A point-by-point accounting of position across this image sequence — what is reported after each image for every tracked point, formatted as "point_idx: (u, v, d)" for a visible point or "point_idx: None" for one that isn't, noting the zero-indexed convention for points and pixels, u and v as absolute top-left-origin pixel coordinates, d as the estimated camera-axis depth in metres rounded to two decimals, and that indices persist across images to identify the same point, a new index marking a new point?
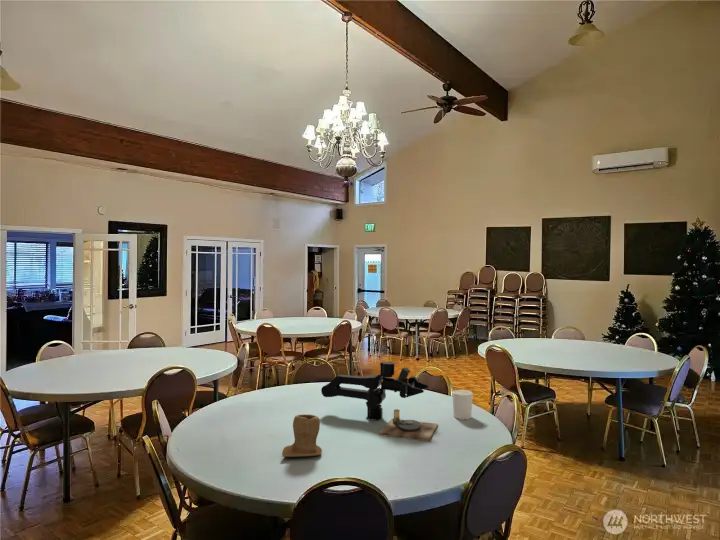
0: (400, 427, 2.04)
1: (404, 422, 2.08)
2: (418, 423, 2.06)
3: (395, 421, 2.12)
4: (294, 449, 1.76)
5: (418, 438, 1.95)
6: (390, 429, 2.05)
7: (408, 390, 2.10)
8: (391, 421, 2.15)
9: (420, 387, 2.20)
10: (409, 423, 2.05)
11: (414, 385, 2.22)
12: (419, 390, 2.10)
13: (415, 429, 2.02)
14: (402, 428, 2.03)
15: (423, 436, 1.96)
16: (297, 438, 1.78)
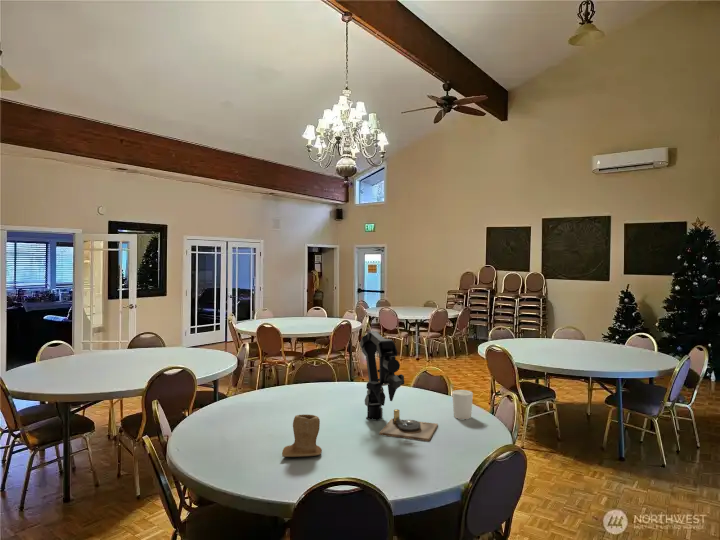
0: (400, 427, 2.04)
1: (404, 422, 2.08)
2: (418, 423, 2.06)
3: (395, 421, 2.12)
4: (294, 449, 1.76)
5: (418, 438, 1.95)
6: (390, 429, 2.05)
7: None
8: (391, 421, 2.15)
9: (389, 392, 2.11)
10: (409, 423, 2.05)
11: (391, 385, 2.11)
12: (379, 400, 2.05)
13: (415, 429, 2.02)
14: (402, 428, 2.03)
15: (423, 436, 1.96)
16: (297, 438, 1.78)
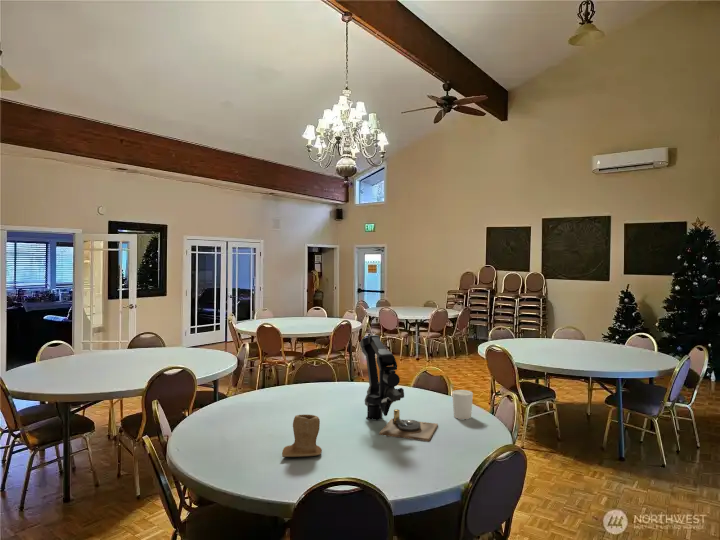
0: (400, 427, 2.04)
1: (404, 422, 2.08)
2: (418, 423, 2.06)
3: (395, 421, 2.12)
4: (294, 449, 1.76)
5: (418, 438, 1.95)
6: (390, 429, 2.05)
7: None
8: (391, 421, 2.15)
9: None
10: (409, 423, 2.05)
11: None
12: (384, 412, 2.07)
13: (415, 429, 2.02)
14: (402, 428, 2.03)
15: (423, 436, 1.96)
16: (297, 438, 1.78)
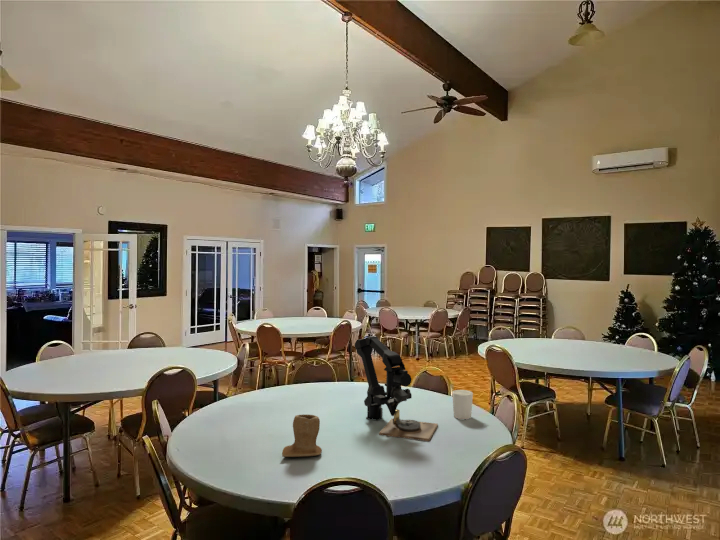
0: (400, 427, 2.04)
1: (404, 422, 2.08)
2: (418, 423, 2.06)
3: (395, 421, 2.12)
4: (294, 449, 1.76)
5: (418, 438, 1.95)
6: (390, 429, 2.05)
7: None
8: (391, 421, 2.15)
9: None
10: (409, 423, 2.05)
11: None
12: (391, 412, 2.10)
13: (415, 429, 2.02)
14: (402, 428, 2.03)
15: (423, 436, 1.96)
16: (297, 438, 1.78)
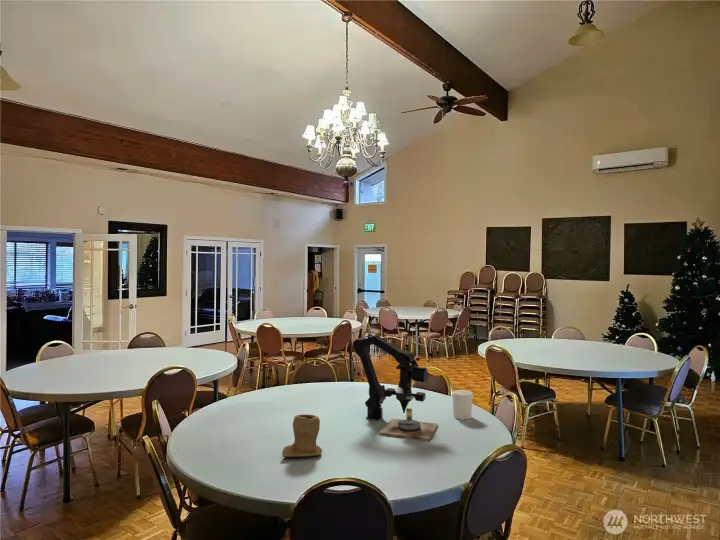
0: (398, 424, 2.08)
1: None
2: (416, 425, 2.03)
3: (406, 419, 2.14)
4: (294, 449, 1.76)
5: (418, 438, 1.95)
6: (390, 429, 2.05)
7: None
8: (391, 421, 2.15)
9: None
10: (406, 423, 2.06)
11: None
12: None
13: (406, 429, 2.02)
14: (398, 425, 2.06)
15: (423, 436, 1.96)
16: (297, 438, 1.78)
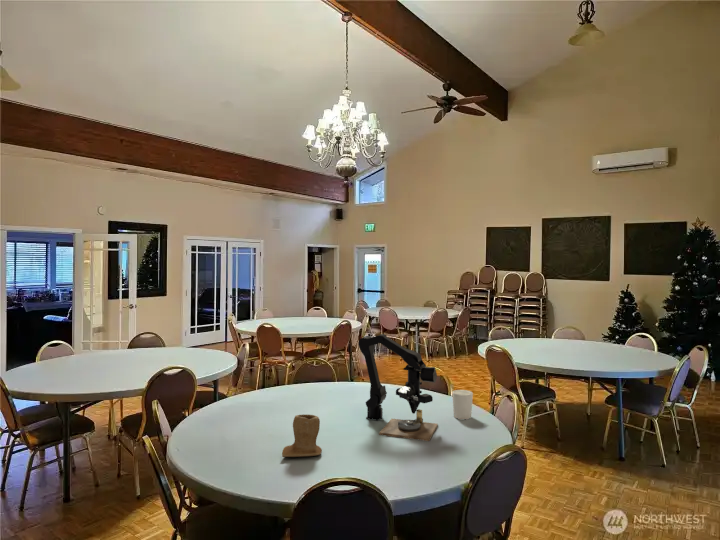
0: None
1: None
2: (411, 426, 2.02)
3: None
4: (294, 449, 1.76)
5: (418, 438, 1.95)
6: (390, 429, 2.05)
7: None
8: (391, 421, 2.15)
9: None
10: (405, 422, 2.06)
11: None
12: None
13: (400, 428, 2.04)
14: None
15: (423, 436, 1.96)
16: (297, 438, 1.78)
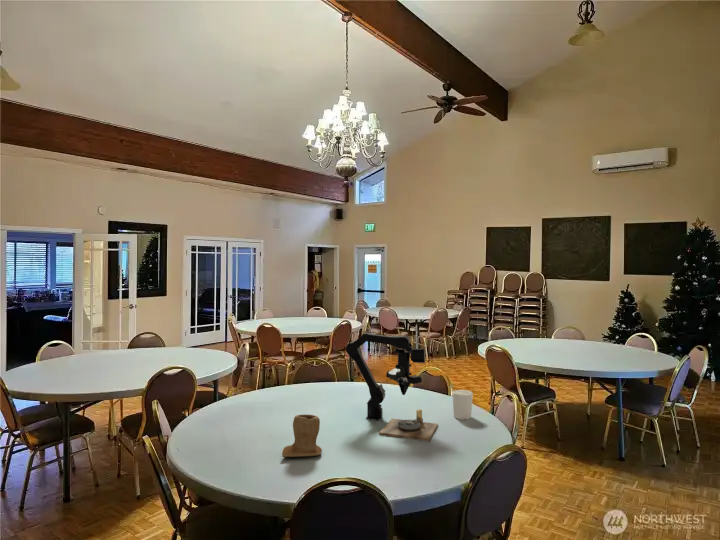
0: None
1: None
2: (411, 426, 2.02)
3: None
4: (294, 449, 1.76)
5: (418, 438, 1.95)
6: (390, 429, 2.05)
7: None
8: (391, 421, 2.15)
9: None
10: (405, 422, 2.06)
11: None
12: None
13: (400, 428, 2.04)
14: None
15: (423, 436, 1.96)
16: (297, 438, 1.78)
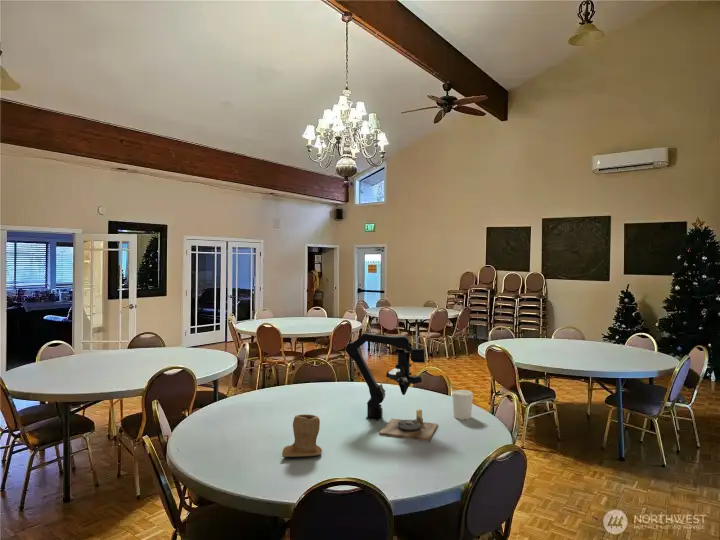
0: None
1: None
2: (411, 426, 2.02)
3: None
4: (294, 449, 1.76)
5: (418, 438, 1.95)
6: (390, 429, 2.05)
7: None
8: (391, 421, 2.15)
9: None
10: (405, 422, 2.06)
11: None
12: None
13: (400, 428, 2.04)
14: None
15: (423, 436, 1.96)
16: (297, 438, 1.78)
